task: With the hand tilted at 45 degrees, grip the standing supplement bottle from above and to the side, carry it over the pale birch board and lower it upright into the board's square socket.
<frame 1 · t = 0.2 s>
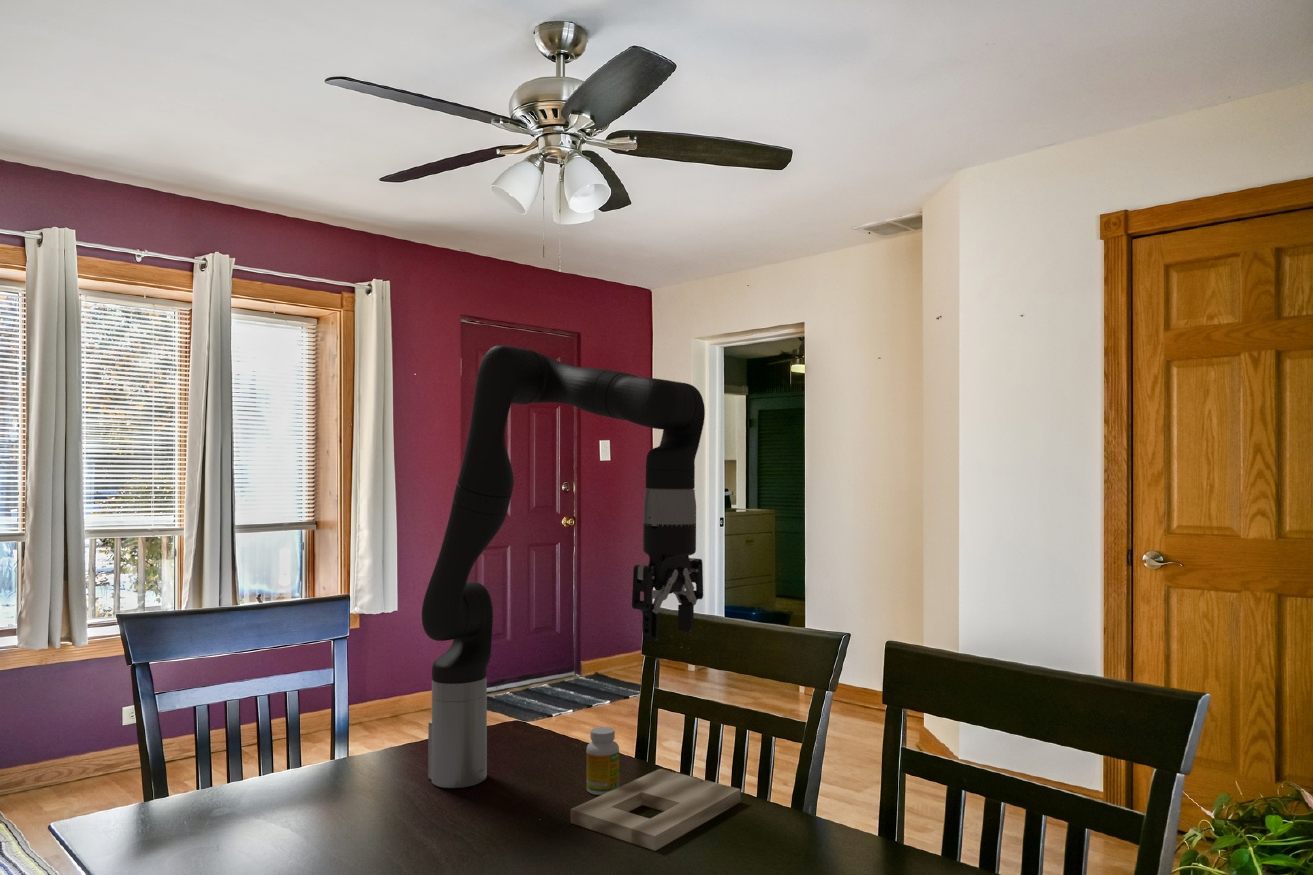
hand: (668, 635, 121), 29 cm above the table, tool pointing down, fingers open, 8 cm apart
socket board: (658, 811, 131), on the table
supplement bottle: (602, 791, 141), on the table
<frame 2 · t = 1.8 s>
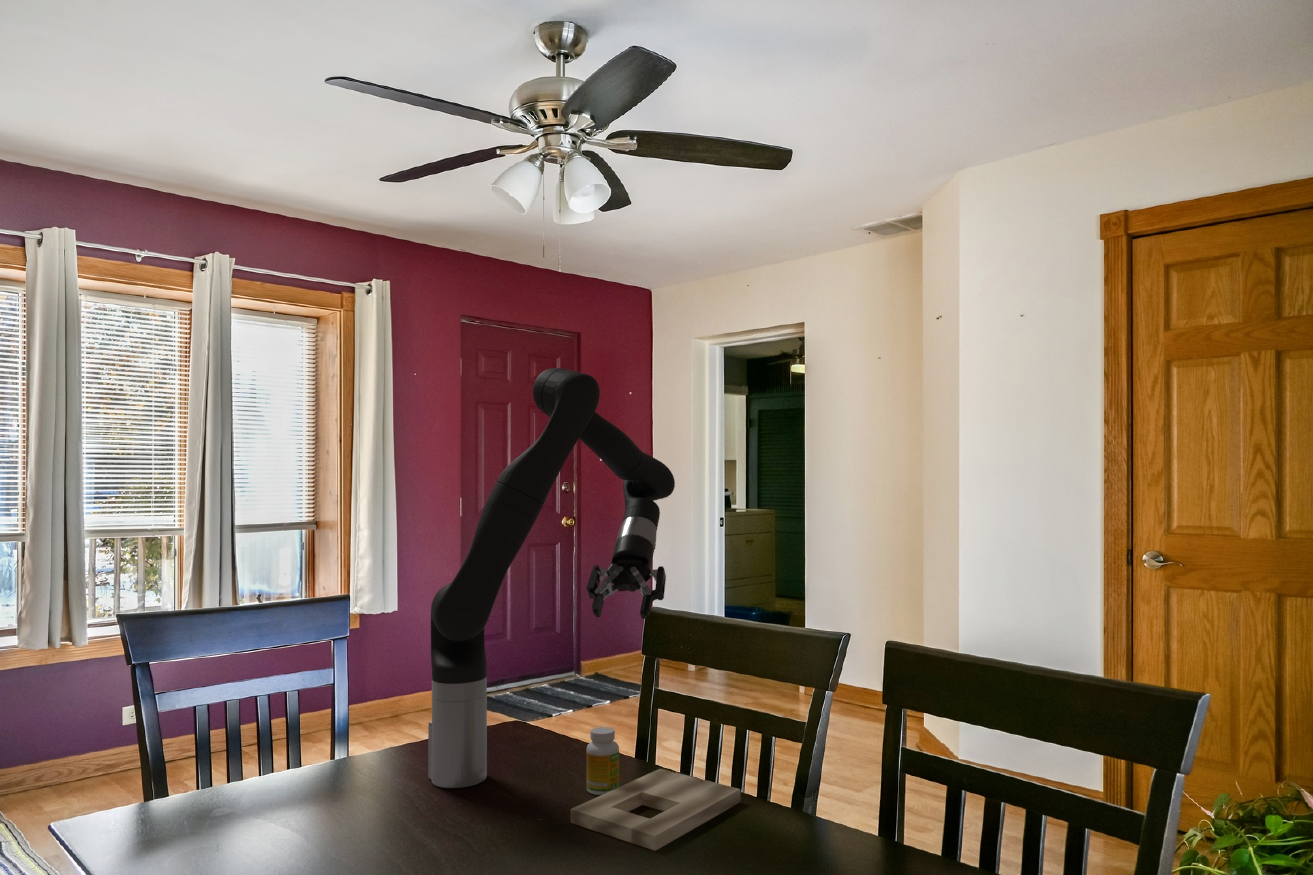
hand: (619, 615, 153), 27 cm above the table, tool tilted 45°, fingers open, 8 cm apart
nothing on the table moved.
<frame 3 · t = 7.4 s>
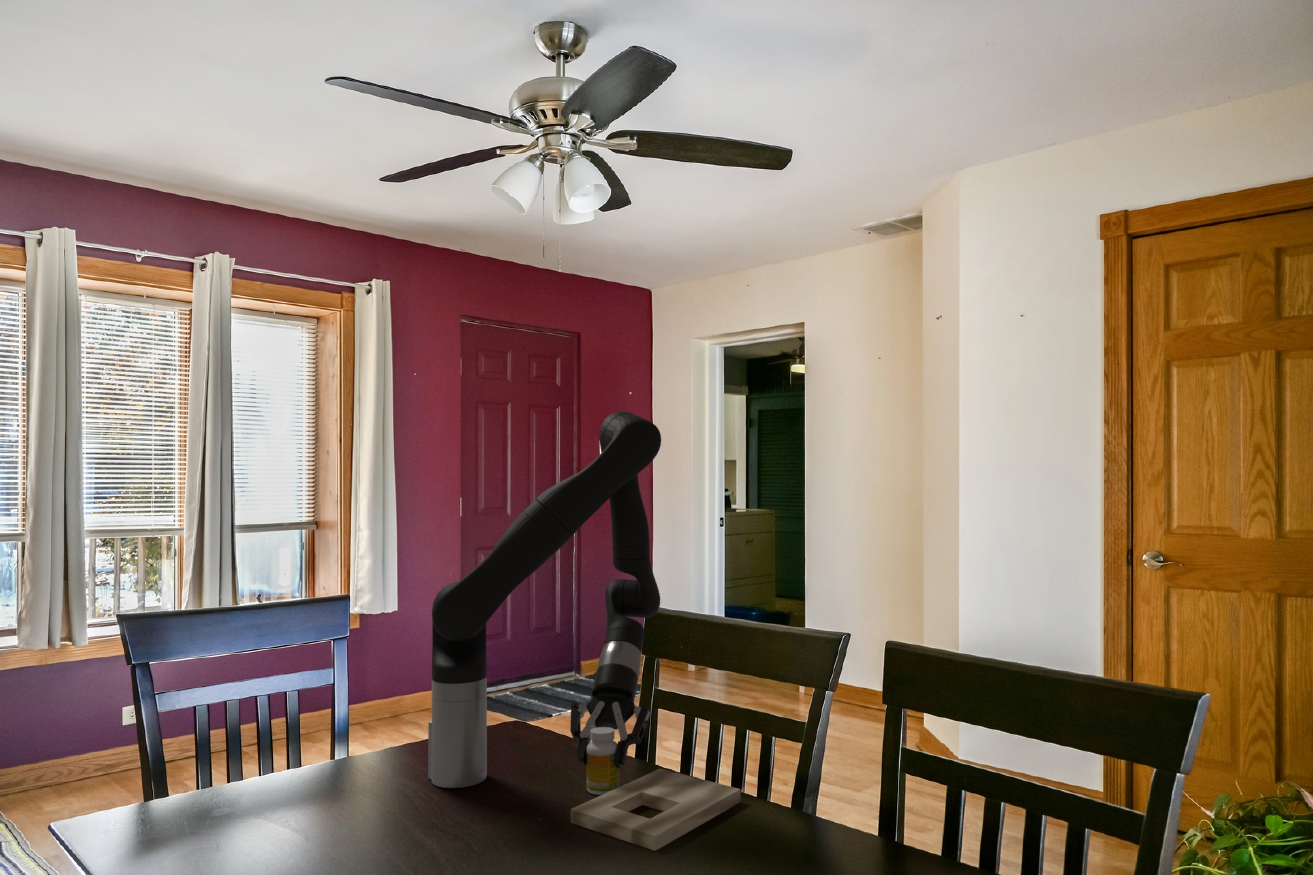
hand: (600, 764, 139), 5 cm above the table, tool tilted 45°, fingers closed on supplement bottle, 5 cm apart
supplement bottle: (602, 790, 141), on the table, touching gripper
when the fingers open (5 cm above the table, at t = 13.2 s): supplement bottle stays where it is, resting in socket board.
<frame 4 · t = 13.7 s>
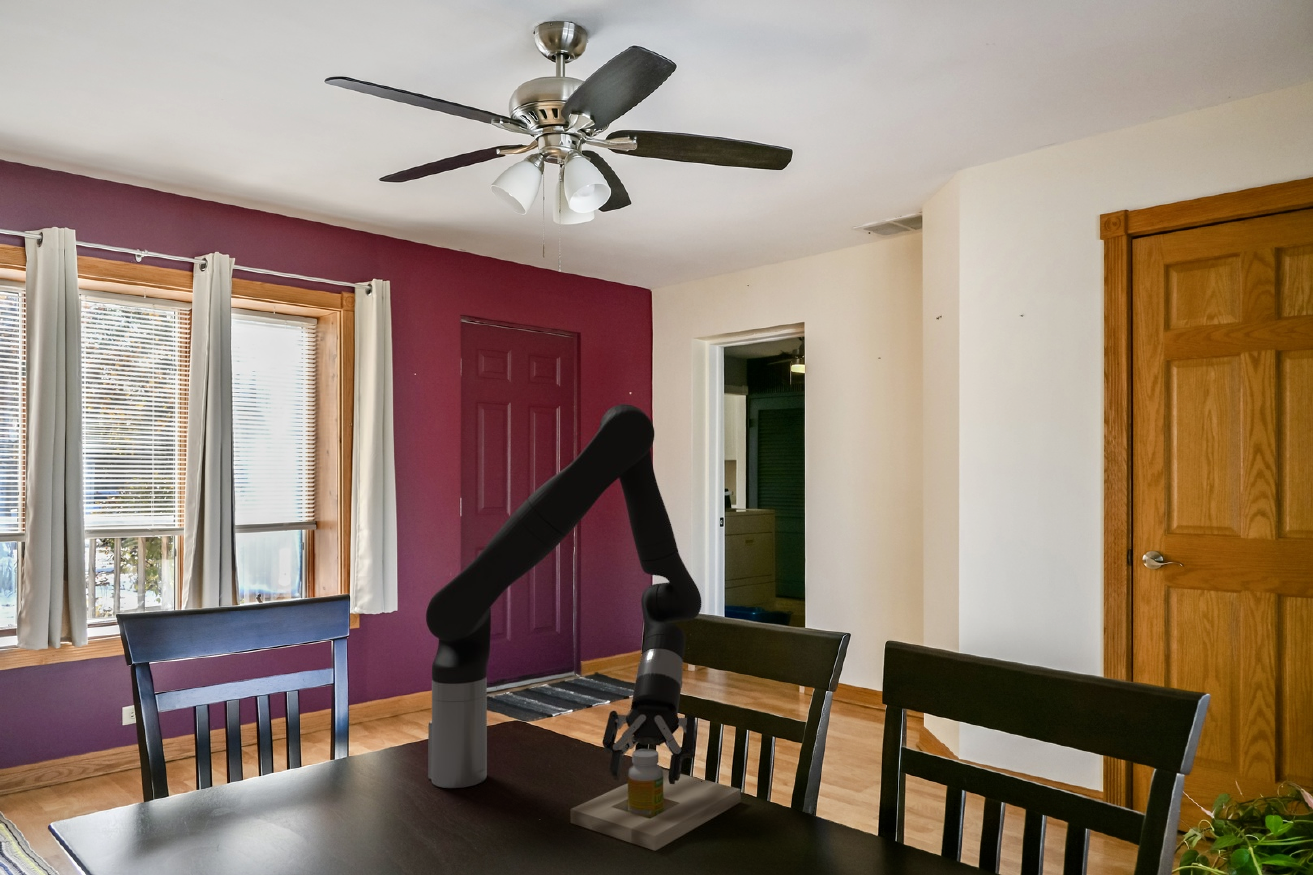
hand: (643, 779, 128), 6 cm above the table, tool tilted 45°, fingers open, 8 cm apart
supplement bottle: (645, 819, 129), resting in socket board
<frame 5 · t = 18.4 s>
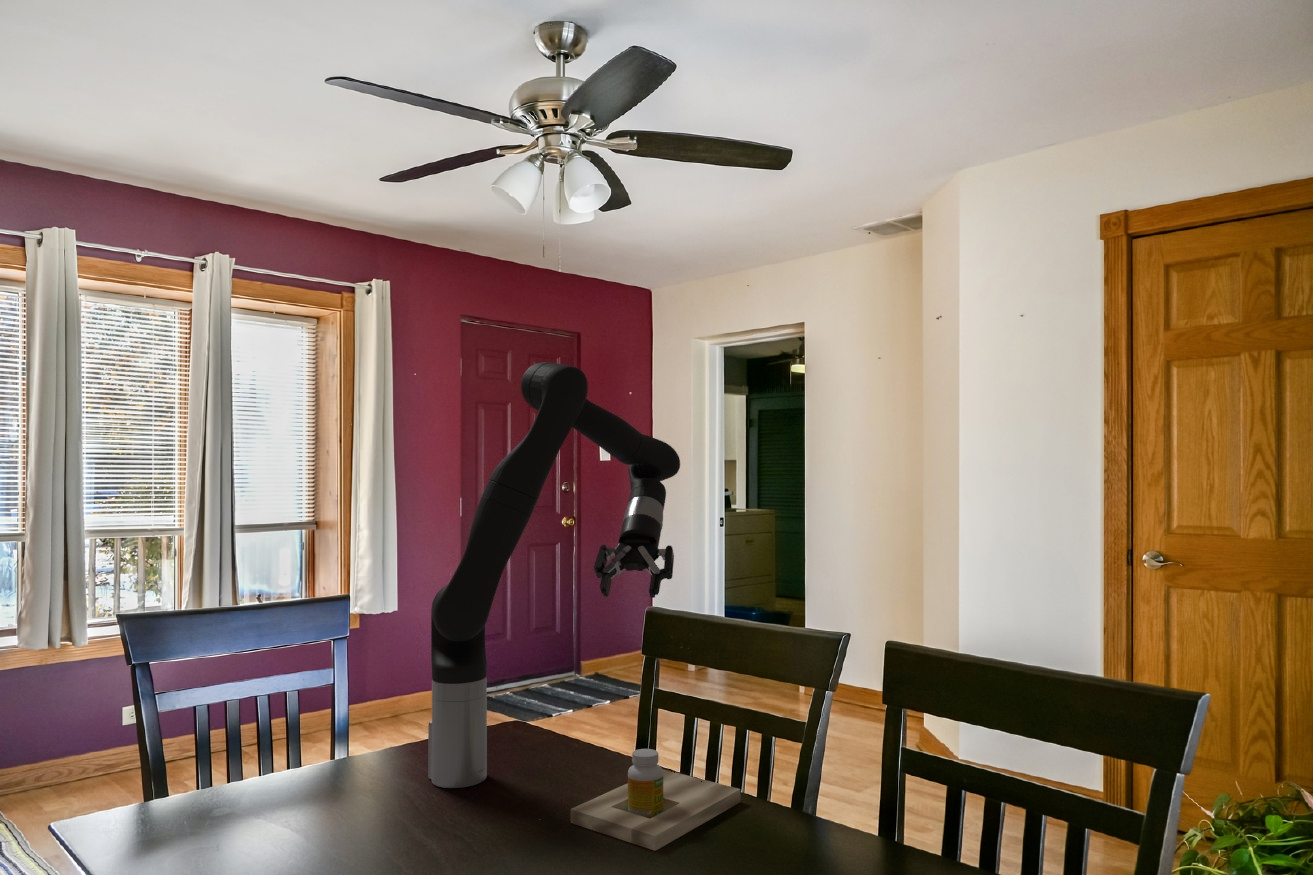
hand: (628, 594, 152), 31 cm above the table, tool tilted 45°, fingers open, 8 cm apart
nothing on the table moved.
at the end: supplement bottle 0.3 cm from the target spot on the socket board, point 0.0 cm above the socket board's base; supplement bottle tilted 0°; the gripper is holding nothing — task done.
